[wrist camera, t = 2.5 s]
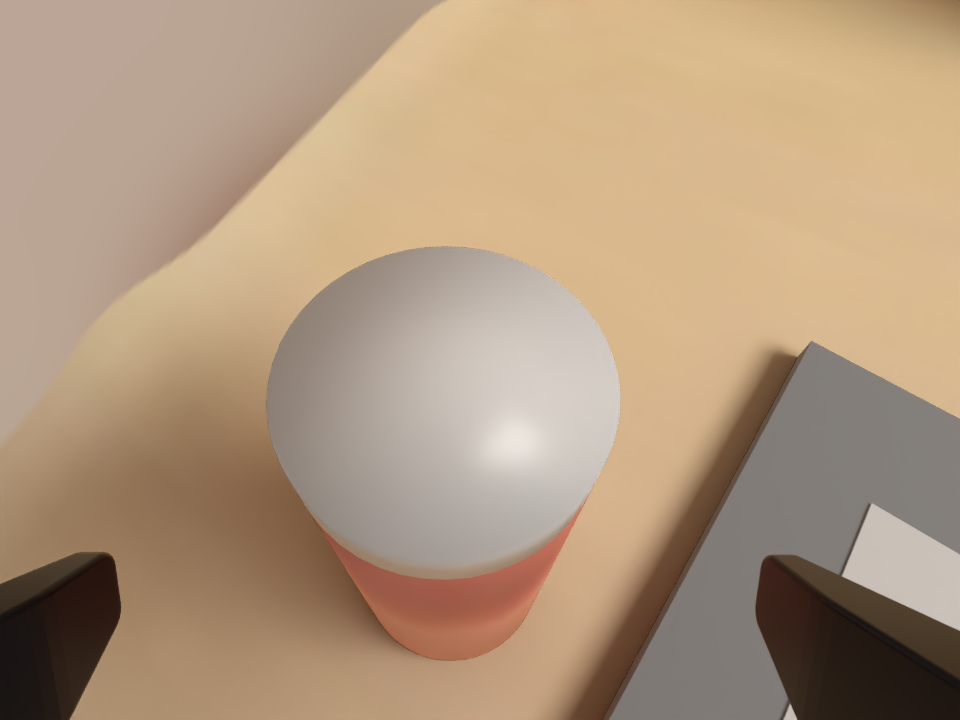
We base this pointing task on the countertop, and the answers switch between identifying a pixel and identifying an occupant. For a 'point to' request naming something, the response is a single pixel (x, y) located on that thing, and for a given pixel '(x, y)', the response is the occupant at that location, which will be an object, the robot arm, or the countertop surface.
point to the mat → (806, 537)
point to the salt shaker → (444, 435)
